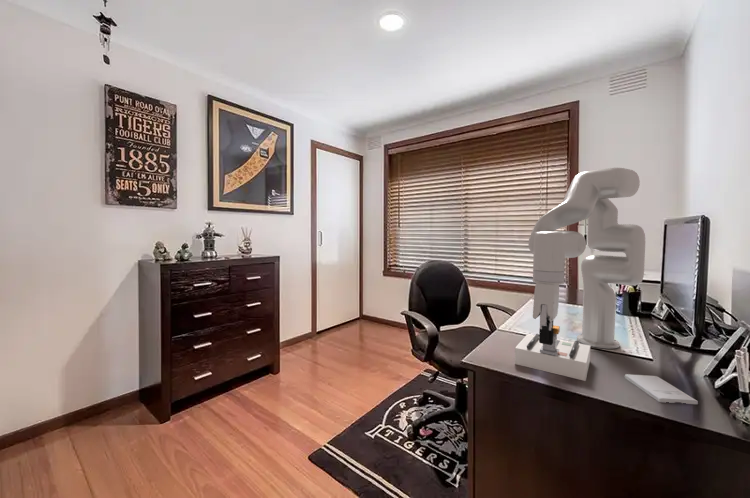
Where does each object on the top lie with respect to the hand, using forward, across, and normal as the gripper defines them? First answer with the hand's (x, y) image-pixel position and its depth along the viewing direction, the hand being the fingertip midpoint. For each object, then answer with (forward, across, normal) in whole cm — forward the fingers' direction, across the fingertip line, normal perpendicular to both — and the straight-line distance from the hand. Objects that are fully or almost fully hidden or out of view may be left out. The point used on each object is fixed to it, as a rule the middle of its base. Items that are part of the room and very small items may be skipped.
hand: (546, 343), depth 87 cm
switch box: (+10, -12, 0) cm, 16 cm away
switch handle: (+5, -6, 0) cm, 7 cm away
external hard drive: (+10, -10, +24) cm, 28 cm away
